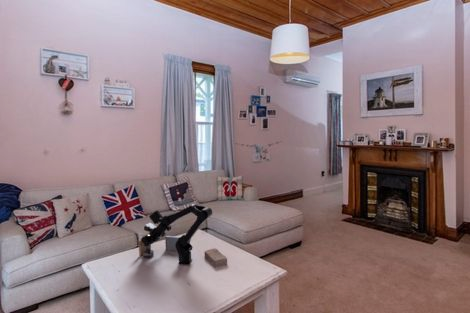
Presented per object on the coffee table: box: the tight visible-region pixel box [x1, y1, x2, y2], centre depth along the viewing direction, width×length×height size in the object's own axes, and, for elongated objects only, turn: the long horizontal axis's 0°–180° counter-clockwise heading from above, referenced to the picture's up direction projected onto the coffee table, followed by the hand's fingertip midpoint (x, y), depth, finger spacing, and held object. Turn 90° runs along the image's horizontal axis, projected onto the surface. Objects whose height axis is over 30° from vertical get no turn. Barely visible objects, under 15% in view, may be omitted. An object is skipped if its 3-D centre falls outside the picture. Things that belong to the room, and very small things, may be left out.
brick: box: [203, 247, 228, 268], centre depth 172 cm, size 17×8×5 cm, turn 30°
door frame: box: [164, 235, 180, 251], centre depth 189 cm, size 25×2×9 cm, turn 77°
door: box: [138, 233, 150, 257], centre depth 184 cm, size 1×13×10 cm, turn 167°
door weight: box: [142, 234, 155, 258], centre depth 178 cm, size 6×6×13 cm
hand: (146, 244), depth 179 cm, fingers closed on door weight, 3 cm apart
